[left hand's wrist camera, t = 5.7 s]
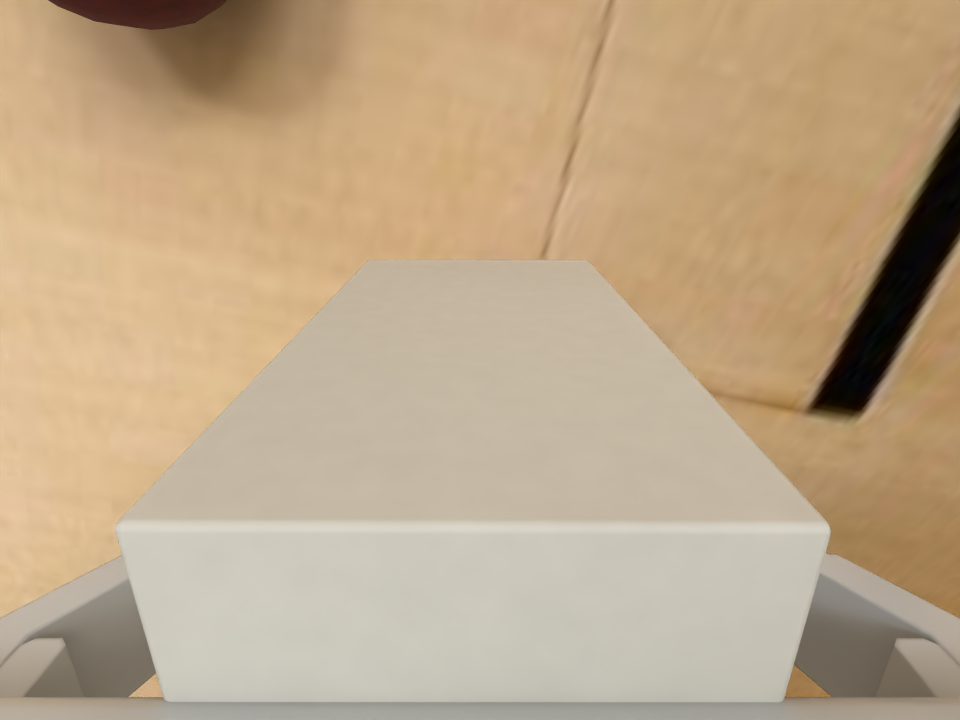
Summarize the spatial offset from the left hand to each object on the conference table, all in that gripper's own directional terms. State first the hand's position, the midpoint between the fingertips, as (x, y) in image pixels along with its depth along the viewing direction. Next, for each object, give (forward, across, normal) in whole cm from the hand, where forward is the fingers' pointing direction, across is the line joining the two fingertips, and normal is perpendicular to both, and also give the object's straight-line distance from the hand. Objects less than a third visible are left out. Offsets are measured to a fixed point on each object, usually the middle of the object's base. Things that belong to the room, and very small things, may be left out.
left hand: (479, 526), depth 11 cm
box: (+7, 0, -10) cm, 12 cm away
